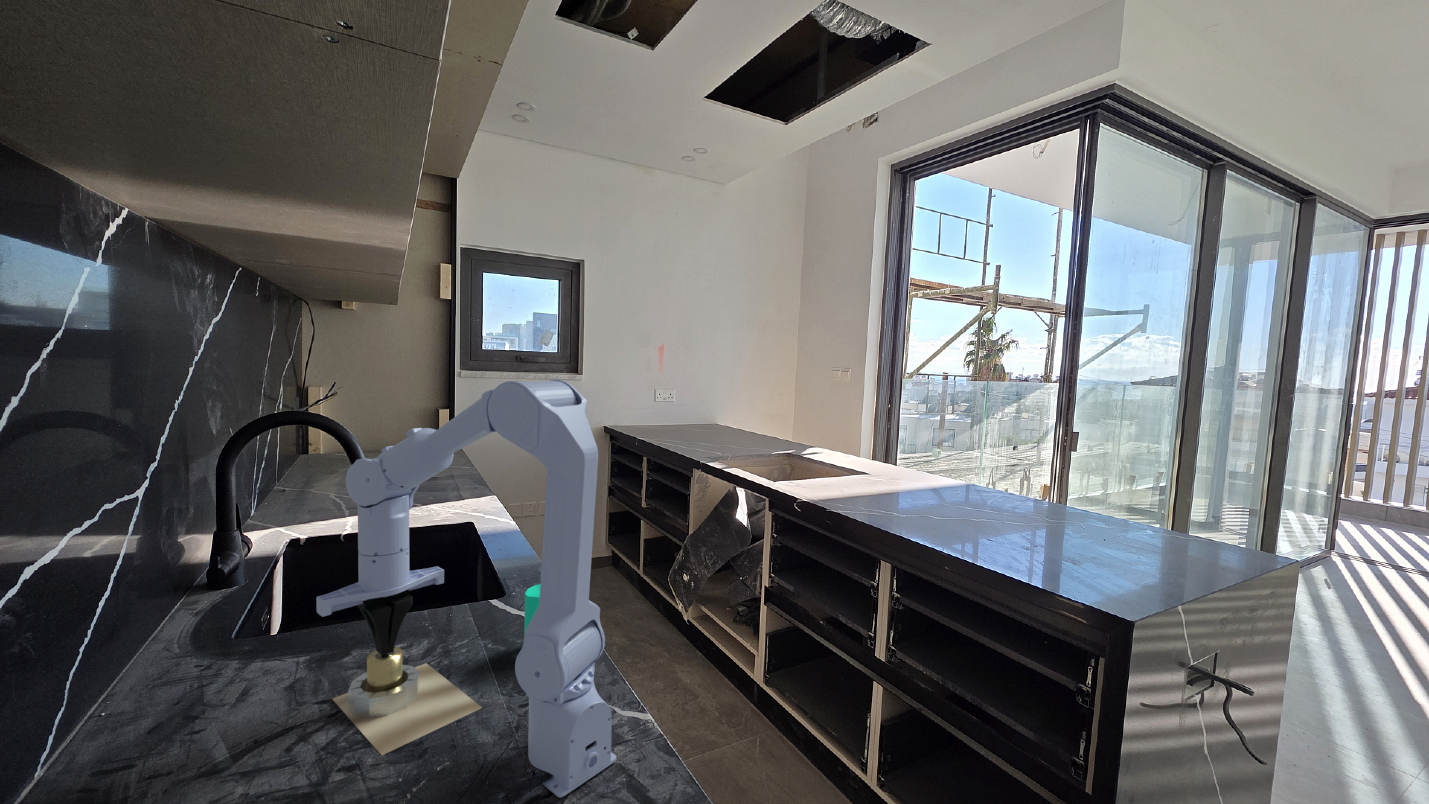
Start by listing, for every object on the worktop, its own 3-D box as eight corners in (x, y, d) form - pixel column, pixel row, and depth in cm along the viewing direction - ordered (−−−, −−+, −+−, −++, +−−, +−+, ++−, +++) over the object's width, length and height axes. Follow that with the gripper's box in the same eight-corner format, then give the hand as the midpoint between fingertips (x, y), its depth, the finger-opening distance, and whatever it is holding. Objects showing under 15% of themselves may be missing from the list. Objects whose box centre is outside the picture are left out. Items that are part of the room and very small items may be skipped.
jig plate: (482, 715, 74) (482, 707, 73) (381, 763, 64) (381, 755, 64) (426, 669, 84) (426, 663, 84) (332, 706, 74) (332, 698, 74)
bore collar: (428, 697, 75) (428, 679, 75) (363, 725, 69) (363, 706, 69) (403, 675, 80) (403, 658, 80) (340, 700, 74) (340, 681, 74)
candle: (552, 668, 85) (554, 590, 84) (516, 662, 86) (517, 585, 86) (570, 648, 91) (572, 575, 90) (536, 643, 92) (537, 571, 91)
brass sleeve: (407, 698, 75) (407, 653, 74) (374, 712, 72) (374, 665, 71) (394, 686, 77) (394, 643, 77) (362, 699, 74) (361, 655, 74)
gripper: (427, 530, 81) (427, 622, 82) (307, 555, 70) (309, 661, 71) (451, 541, 77) (451, 638, 78) (327, 569, 66) (328, 682, 67)
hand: (384, 651), depth 74 cm, fingers closed
